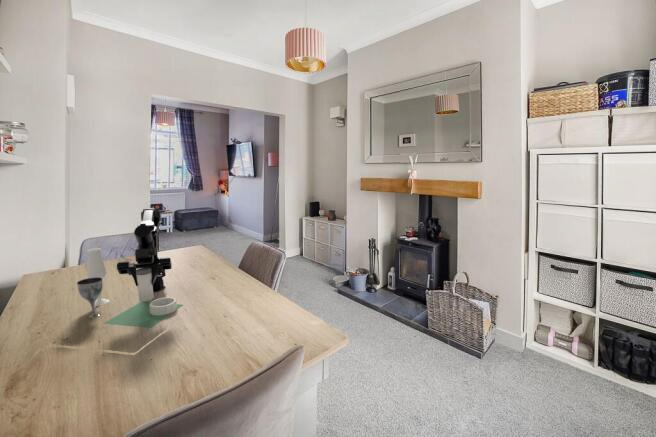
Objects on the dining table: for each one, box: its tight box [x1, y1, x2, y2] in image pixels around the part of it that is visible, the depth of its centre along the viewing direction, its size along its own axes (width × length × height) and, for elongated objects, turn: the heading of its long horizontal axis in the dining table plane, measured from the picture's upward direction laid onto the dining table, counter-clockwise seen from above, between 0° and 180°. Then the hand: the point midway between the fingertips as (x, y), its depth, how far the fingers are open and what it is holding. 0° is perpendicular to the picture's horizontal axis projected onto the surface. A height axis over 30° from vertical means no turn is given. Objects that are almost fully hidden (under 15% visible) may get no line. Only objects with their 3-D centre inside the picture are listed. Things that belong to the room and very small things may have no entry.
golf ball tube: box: [136, 268, 154, 302], centre depth 126 cm, size 5×5×12 cm
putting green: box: [103, 296, 184, 329], centre depth 129 cm, size 20×20×4 cm
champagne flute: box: [86, 247, 110, 307], centre depth 139 cm, size 7×7×24 cm
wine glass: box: [76, 277, 104, 319], centre depth 126 cm, size 8×8×15 cm
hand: (144, 284), depth 125 cm, fingers closed on golf ball tube, 5 cm apart
